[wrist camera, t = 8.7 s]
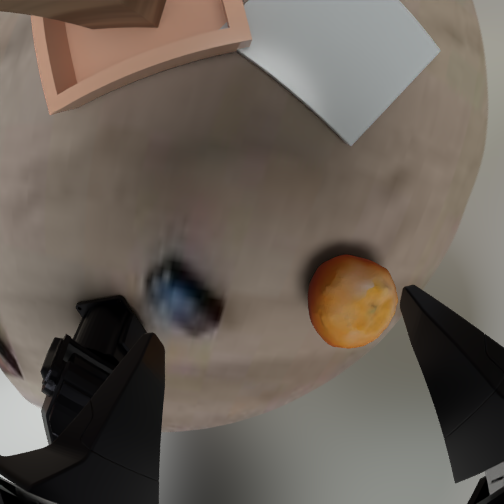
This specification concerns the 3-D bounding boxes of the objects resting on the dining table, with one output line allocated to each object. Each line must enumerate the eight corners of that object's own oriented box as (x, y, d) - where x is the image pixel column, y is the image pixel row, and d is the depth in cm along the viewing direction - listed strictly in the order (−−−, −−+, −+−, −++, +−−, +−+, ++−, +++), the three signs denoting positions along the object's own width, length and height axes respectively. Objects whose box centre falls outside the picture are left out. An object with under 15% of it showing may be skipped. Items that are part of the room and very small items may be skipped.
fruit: (279, 323, 27) (315, 355, 19) (302, 244, 27) (348, 247, 19) (346, 335, 28) (392, 362, 21) (367, 265, 29) (419, 273, 21)
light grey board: (346, 143, 19) (351, 146, 18) (215, 37, 14) (214, 34, 13) (433, 50, 14) (440, 50, 13) (323, -55, 10) (327, -60, 9)
